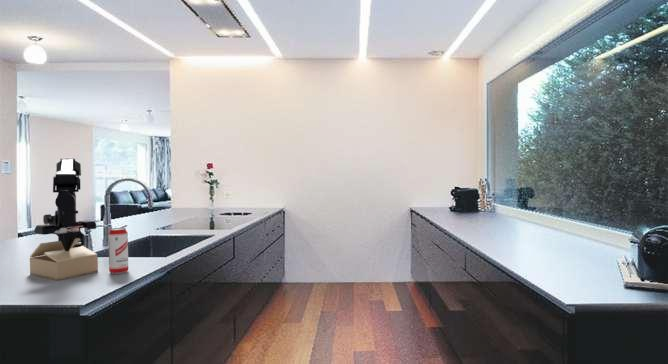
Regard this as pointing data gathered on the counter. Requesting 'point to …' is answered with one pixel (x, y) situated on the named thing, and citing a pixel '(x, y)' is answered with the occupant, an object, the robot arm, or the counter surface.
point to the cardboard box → (62, 267)
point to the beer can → (118, 250)
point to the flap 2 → (70, 254)
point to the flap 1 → (50, 247)
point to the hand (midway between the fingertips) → (67, 251)
